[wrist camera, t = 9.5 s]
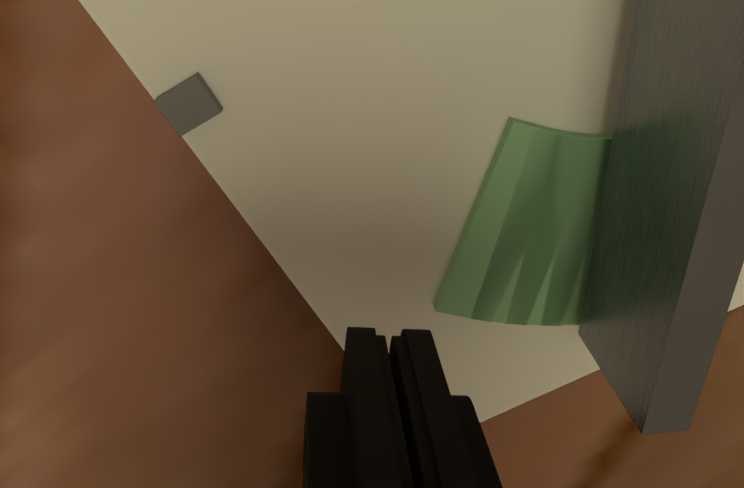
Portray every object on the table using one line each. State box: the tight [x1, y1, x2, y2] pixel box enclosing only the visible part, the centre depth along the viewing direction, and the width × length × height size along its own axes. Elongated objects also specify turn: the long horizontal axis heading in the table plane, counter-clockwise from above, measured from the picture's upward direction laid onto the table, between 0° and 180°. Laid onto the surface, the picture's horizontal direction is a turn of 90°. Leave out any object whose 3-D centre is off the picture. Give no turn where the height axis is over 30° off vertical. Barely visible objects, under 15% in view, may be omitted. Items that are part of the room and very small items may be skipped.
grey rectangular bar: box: [578, 0, 744, 434], centre depth 13 cm, size 15×3×4 cm, turn 2°
